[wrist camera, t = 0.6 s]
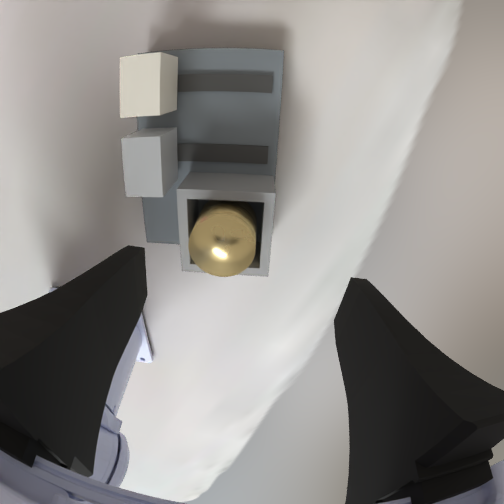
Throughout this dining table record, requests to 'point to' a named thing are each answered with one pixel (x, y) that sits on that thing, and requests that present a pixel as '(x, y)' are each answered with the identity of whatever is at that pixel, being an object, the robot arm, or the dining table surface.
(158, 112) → the cream rectangular prism
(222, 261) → the brass button
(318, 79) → the dining table surface
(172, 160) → the grey rectangular block
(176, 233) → the panel board
